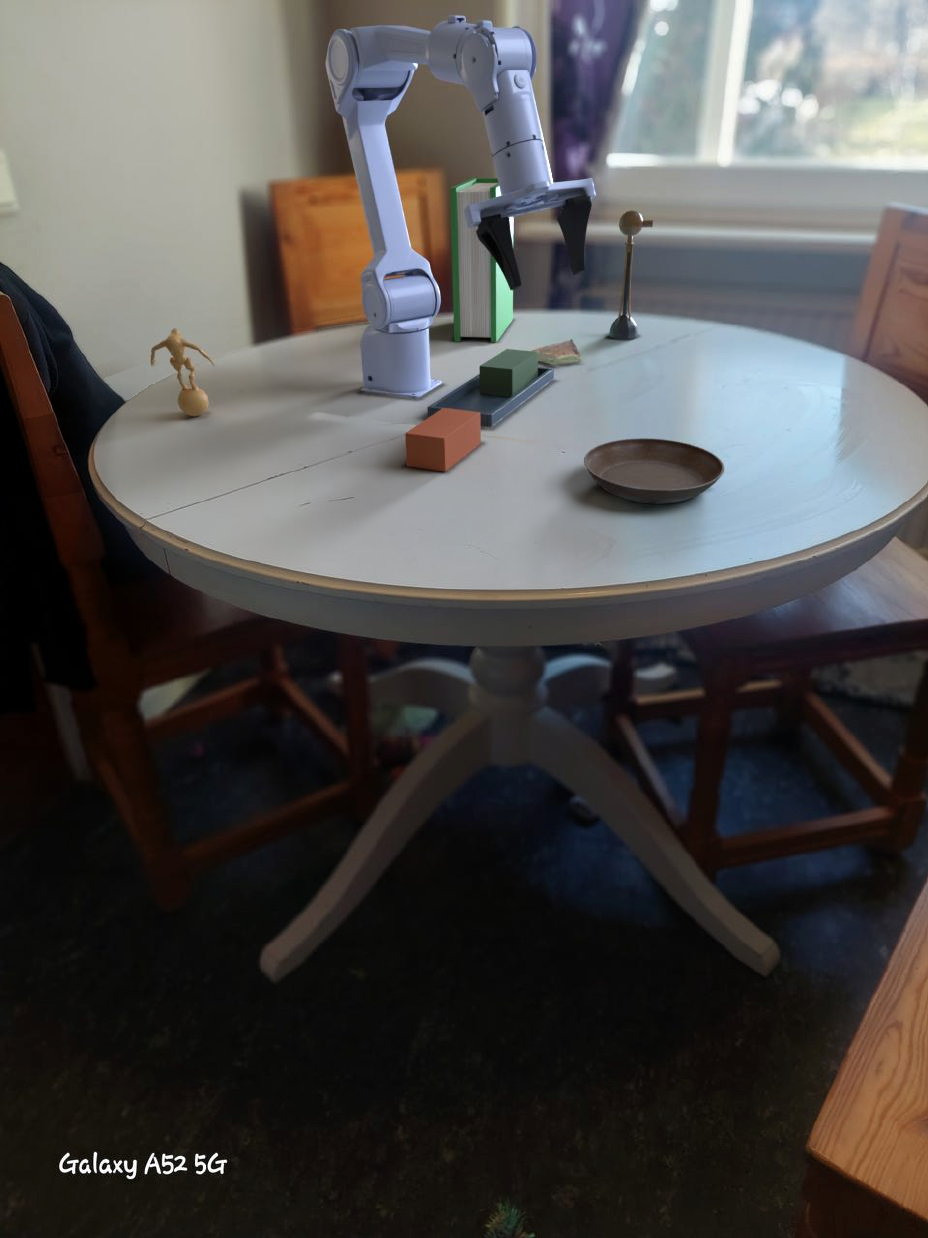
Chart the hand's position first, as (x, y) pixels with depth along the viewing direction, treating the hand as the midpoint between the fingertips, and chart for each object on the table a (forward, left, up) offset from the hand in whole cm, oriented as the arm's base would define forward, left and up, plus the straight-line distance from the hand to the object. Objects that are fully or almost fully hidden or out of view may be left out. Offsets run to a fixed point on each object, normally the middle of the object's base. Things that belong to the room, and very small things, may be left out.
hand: (547, 280), depth 97 cm
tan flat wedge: (-13, +38, -19) cm, 45 cm away
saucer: (+15, -8, -19) cm, 26 cm away
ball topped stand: (-6, +56, -19) cm, 60 cm away
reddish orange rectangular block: (-10, -8, -19) cm, 23 cm away
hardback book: (-31, +52, -19) cm, 63 cm away
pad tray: (-13, +14, -19) cm, 27 cm away
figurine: (-48, -8, -19) cm, 52 cm away
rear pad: (-13, +20, -19) cm, 30 cm away
